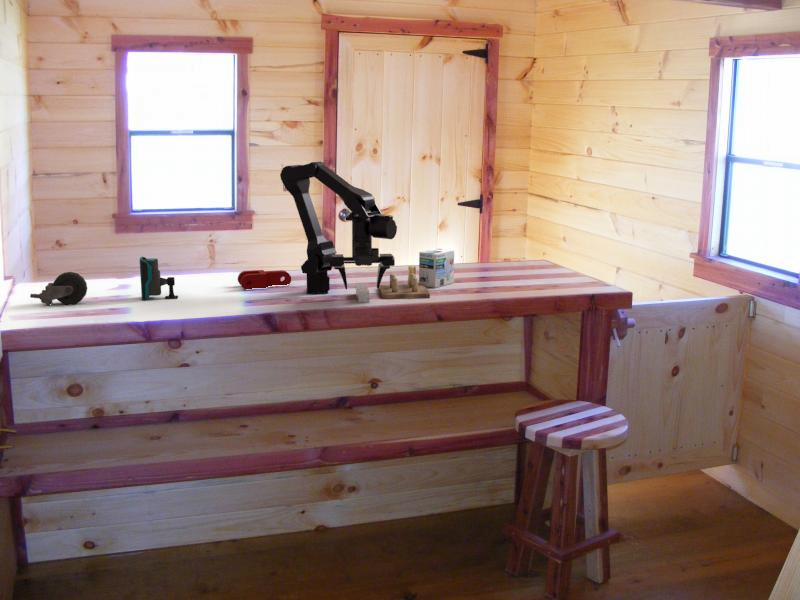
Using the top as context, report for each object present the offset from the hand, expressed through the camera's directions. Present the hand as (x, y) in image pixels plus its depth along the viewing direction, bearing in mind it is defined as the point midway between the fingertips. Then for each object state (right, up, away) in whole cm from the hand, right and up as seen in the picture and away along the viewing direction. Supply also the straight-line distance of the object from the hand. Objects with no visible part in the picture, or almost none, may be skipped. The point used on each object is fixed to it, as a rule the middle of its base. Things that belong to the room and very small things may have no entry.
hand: (362, 289), depth 267 cm
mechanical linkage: (-31, 0, +16) cm, 35 cm away
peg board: (+12, -1, +8) cm, 15 cm away
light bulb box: (+23, +2, +22) cm, 32 cm away
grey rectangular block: (0, -3, +1) cm, 3 cm away
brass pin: (+15, +1, +20) cm, 25 cm away
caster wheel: (-85, -5, -10) cm, 86 cm away
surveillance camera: (-59, -3, -1) cm, 59 cm away
